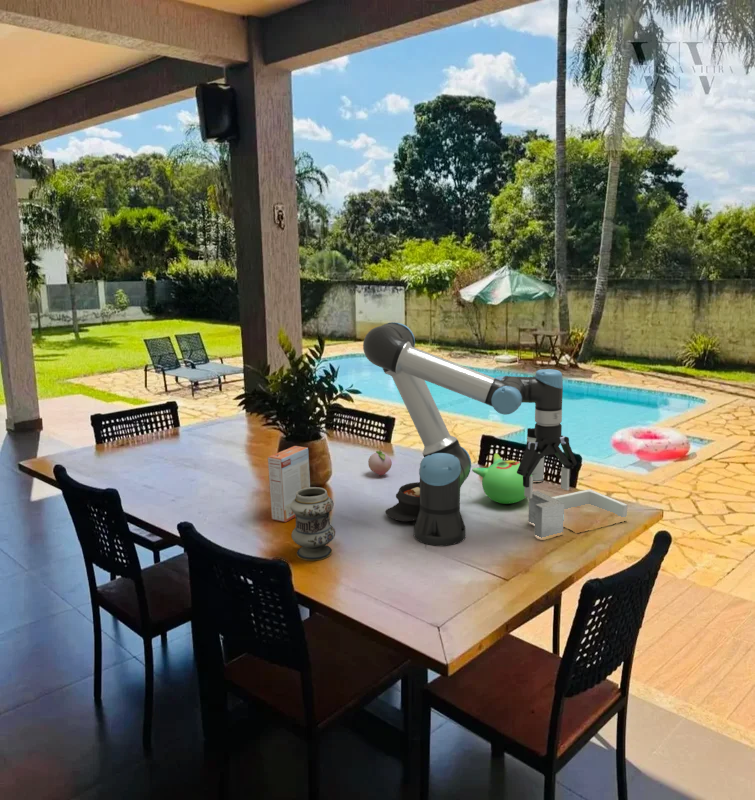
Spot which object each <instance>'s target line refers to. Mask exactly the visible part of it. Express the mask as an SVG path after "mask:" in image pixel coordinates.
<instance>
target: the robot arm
mask: <svg viewBox="0 0 755 800" xmlns="http://www.w3.org/2000/svg"><path fill="white" fill-rule="evenodd" d="M415 346H416V340H415V335H414V332H413V331H412V329H410V327H408V326H407V325H406V324H403V323H400V322H387V323H384V324H382V325H378V326H376V327H374V328H372V329H370V330H369V331H368V332H367V334H365V336H364V339H363V344H362V349H363V352H364V355H365V357H366V359H367V360H368V361H369V362H370V363H371V364H373V365H374V366H377V367H380V368H382V370H383V372H384V374H385V375H388V376H390V377H391V378H392V380H393V382H394V384H395V386H396V388H397V391H398V392H399V396H400V397H401V399H402V401H403V403H404V405H405V408H406V409H407V412H408V414H409V416H410V419H411V421H412V423H413V425H414V427H415V429H416V431H417V433H418V435H419V438H420V439H421V442H422V444H423V446H424V447H423V451H422V456H423V458H422V459H421V461H420V463H419V469H418V474H419V482H420V511H419V514H418V517H417V520H416V521H415V524H414V527H413V536H414V539H416V540H417V541H419V542H420V543H422V544H423V543H424V544H426V545H431V546H440V545H443V546H451V545H450V544H452V545H455V544H454V543H456V544H459V543H461V542H462V540H463V539H464V538H465V539H466V537H467V536H466V534H467V531H466V530H467V529H466V525H465V522H464V518H463V515H462V513H461V488H462V486H463V484H464V482H465V481H466V480H467V479H468V477H469V475H470V473H471V471H472V469H471V468H472V460H471V459H472V458H471V456H470V454H469V452H468V450H466V449H465V448H464V447H463V446H461V444H460V442H459V440H458V438H457V437H456V436H453V435H451V434H450V432H449V429H448V428H447V425H446V424H445V421H444V419H443V417H442V414H441V412H440V410H439V408H438V407H437V404H436V402H435V400H434V397H433V395H432V393H431V391H430V389H429V387H428V385H427V382H428V383H431V384H433V385H435V386H439V387H441V388H444V389H446V390H449V391H451V392H454V393H457V394H459V395H462V396H465V397H467V398H470V399H472V400H475V401H477V402H481V403H483V404H486V405H488V406H490V407H492V408H493V409H494V410H495V411H496V412H497V413H499V414H500V415H511V414H513V413H515V412H516V411H517V410H519V408H520V407H521V405H522V403H523V404H524V403H527V404H529V403H530V404H534V405H535V406H534V407H535V408H534V422H535V424H534V428H535V436H536V441H535V442H529V441H528V442H527V441H526V443H525V445H526V446H525V450H524V453H523V455H522V458H521V460H520V465H519V468H518V470H517V474H520V475H522V476H523V486H524V487H525V491H524V496H526V498H528V499H529V498H530V499H531V498H532V493H533V492H534V491H533V485H534V483H533V477H532V476H531V474H532V472H533V471H534V469H535V468H536V466H537V464H538V463H539V461H540V460H541V458H543V457H544V458H545V457H547V456H549V455H554V456H555V457H556V458H557V459H558V461H559V462H560V464H561V465H562V467H560V471H561V472H560V489H562V490H565V491H570V479H571V475H572V470H573V469H574V467H575V466H577V464H578V462H577V460H576V457H575V455H574V452H573V450H572V447H571V445H570V438H569V437H568V436H565V435H562V429H563V427H562V426H563V425H562V424H561V423H562V420H563V419H562V417H563V396H564V395H563V392H564V391H563V390H564V385H563V373H562V372H561V371H560V370H557V369H550V368H548V369H547V368H546V369H538V370H536V371H535V375H534V376H515V375H514V376H510V375H509V376H508V375H503V376H500V375H499V376H496V377H493V376H490V375H488V374H486V373H482V372H480V371H477V370H474V369H472V368H469V367H466V366H464V365H462V364H458V363H455V362H453V361H450V360H448V359H446V358H443V357H441V356H437V355H435V354H432V353H430V352H427V351H424V350H421V349H419V348H416V347H415ZM560 446H561V448H562V449H561V448H560ZM538 452H539V453H538ZM465 536H466V537H465ZM465 539H464V540H465ZM464 540H463V541H464ZM460 541H461V542H460ZM458 542H459V543H458Z"/></svg>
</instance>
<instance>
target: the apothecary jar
mask: <svg viewBox="0 0 755 800" xmlns="http://www.w3.org/2000/svg"><path fill="white" fill-rule="evenodd" d="M334 506H335V503H334V500H333V499H332V498H331V497H330V496H329V495H328V491H327V490H326V489H325V488H323V487H316V486H310V488H304V489H301V490H298V491H297V492H296V498H295V499H294V500H293V501H292V503H291V506H290V507H291V510H292V512H293V513H294V514H295V517H294V518H295V527H294V529H293V530H292V532H291V539H292V541H293V542H294V543H295V544H297V545H298V546H300V547H299V548H298V549H297V551H296V557H298V558H299V559H301V560H304V561H308V562H310V561H321V560H324V559H327V558H329V557H330V556H331V555H332V554H333V549H332V548H331V547H330V546H328V544H330V543H331V542H332V541H333V540H334V539H335V537H336V529H335V528H334V526H333V525H332V524H331V518H330V517H331V516H330V512H332V510H333V509H334Z"/></svg>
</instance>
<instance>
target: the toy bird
mask: <svg viewBox="0 0 755 800" xmlns="http://www.w3.org/2000/svg"><path fill="white" fill-rule="evenodd" d="M520 463H521V461H520V462H519V461H517V460H512V459H510V460H509V459H503V458H502V457H501V456H500V455H499V453H494V454H493V463H492V464H491V465H489V466H488V467H472V469H471V471H472V473H475V474H476V475H478V476H479V477H481V486H482V489H483V491H484V492H483V493H484V494H485V495H486V497H488V498H489V499H490V500H492V501H493V502H495V503H499V504H504V505H505V504H506V505H511V504H515V503H519V502H521V501H522V500H524V499H526V498H527V497H526V496H524V491H525V487H524V486H523V476H522V475H520V474H517V470H518V468H519V465H520ZM531 476H532V474H531Z"/></svg>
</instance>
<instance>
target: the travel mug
mask: <svg viewBox="0 0 755 800" xmlns="http://www.w3.org/2000/svg"><path fill="white" fill-rule="evenodd" d="M526 433H527V435H526V443H527V442H528V441H529V442H535V441H536V436H535V427H534V428H531V427H530V428H527V432H526ZM538 453H539V452H538ZM544 468H545V456H544V457H543V458H541V460H540V461H539V463H538V464H537V466H536V468H535V469H534V471H533V472H532V477H533V481H544V476H545V474H544V473H545V471H544V470H545V469H544Z"/></svg>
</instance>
